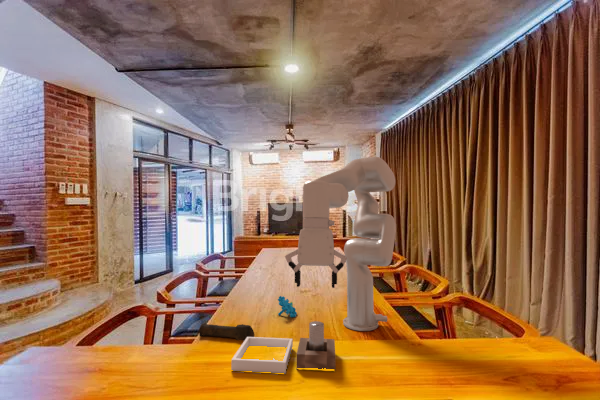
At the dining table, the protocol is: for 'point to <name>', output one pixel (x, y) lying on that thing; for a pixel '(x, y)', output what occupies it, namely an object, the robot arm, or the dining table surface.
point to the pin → (316, 336)
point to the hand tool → (227, 331)
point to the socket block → (316, 355)
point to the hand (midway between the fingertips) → (315, 286)
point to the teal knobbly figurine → (286, 307)
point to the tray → (262, 365)
